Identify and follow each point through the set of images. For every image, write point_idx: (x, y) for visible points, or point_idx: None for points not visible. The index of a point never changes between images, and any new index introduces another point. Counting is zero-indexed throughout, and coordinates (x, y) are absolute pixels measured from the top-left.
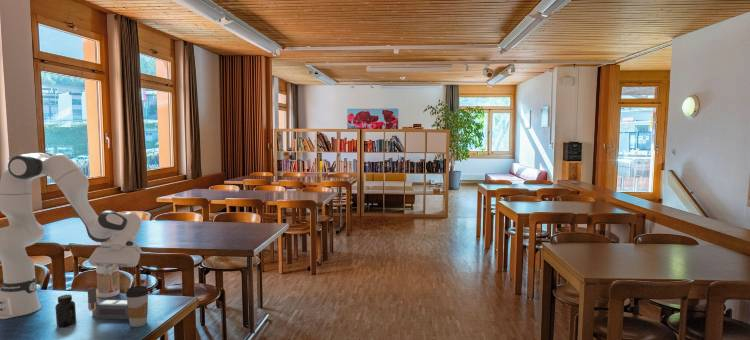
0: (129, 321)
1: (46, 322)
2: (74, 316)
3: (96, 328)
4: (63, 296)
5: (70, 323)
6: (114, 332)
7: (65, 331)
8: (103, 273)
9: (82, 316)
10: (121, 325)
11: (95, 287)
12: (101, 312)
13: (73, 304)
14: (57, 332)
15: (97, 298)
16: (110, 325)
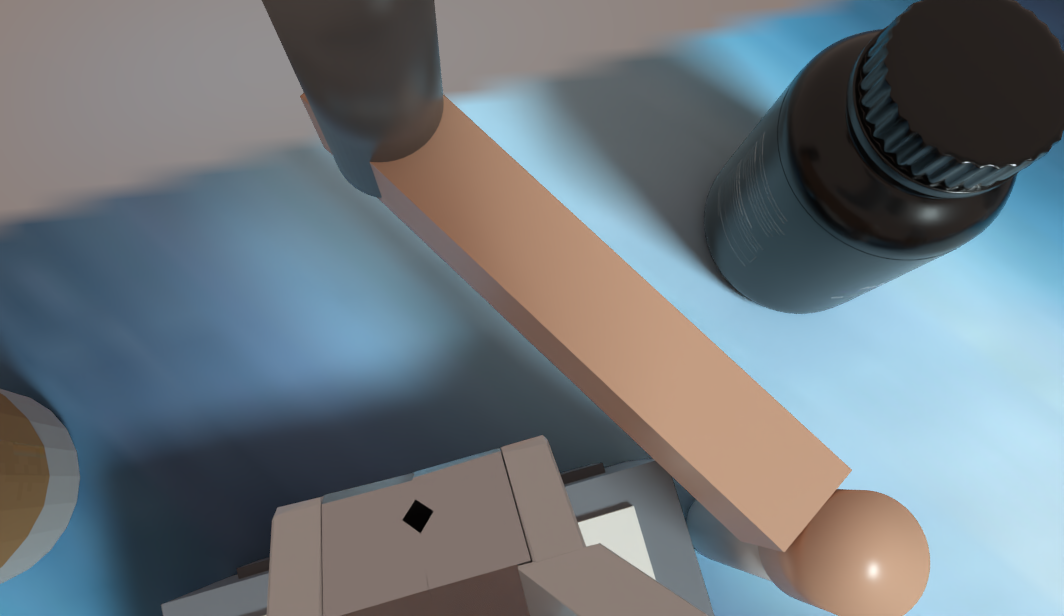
0: (31, 404)
1: (1039, 212)
2: (735, 230)
3: (386, 245)
4: (995, 66)
5: (712, 196)
6: (102, 220)
7: (632, 101)
8: (528, 441)
9: (847, 459)
10: (172, 392)
11: (319, 30)
12: (570, 470)
13: (797, 172)
14: (684, 63)
15: (667, 464)
16: (300, 353)
